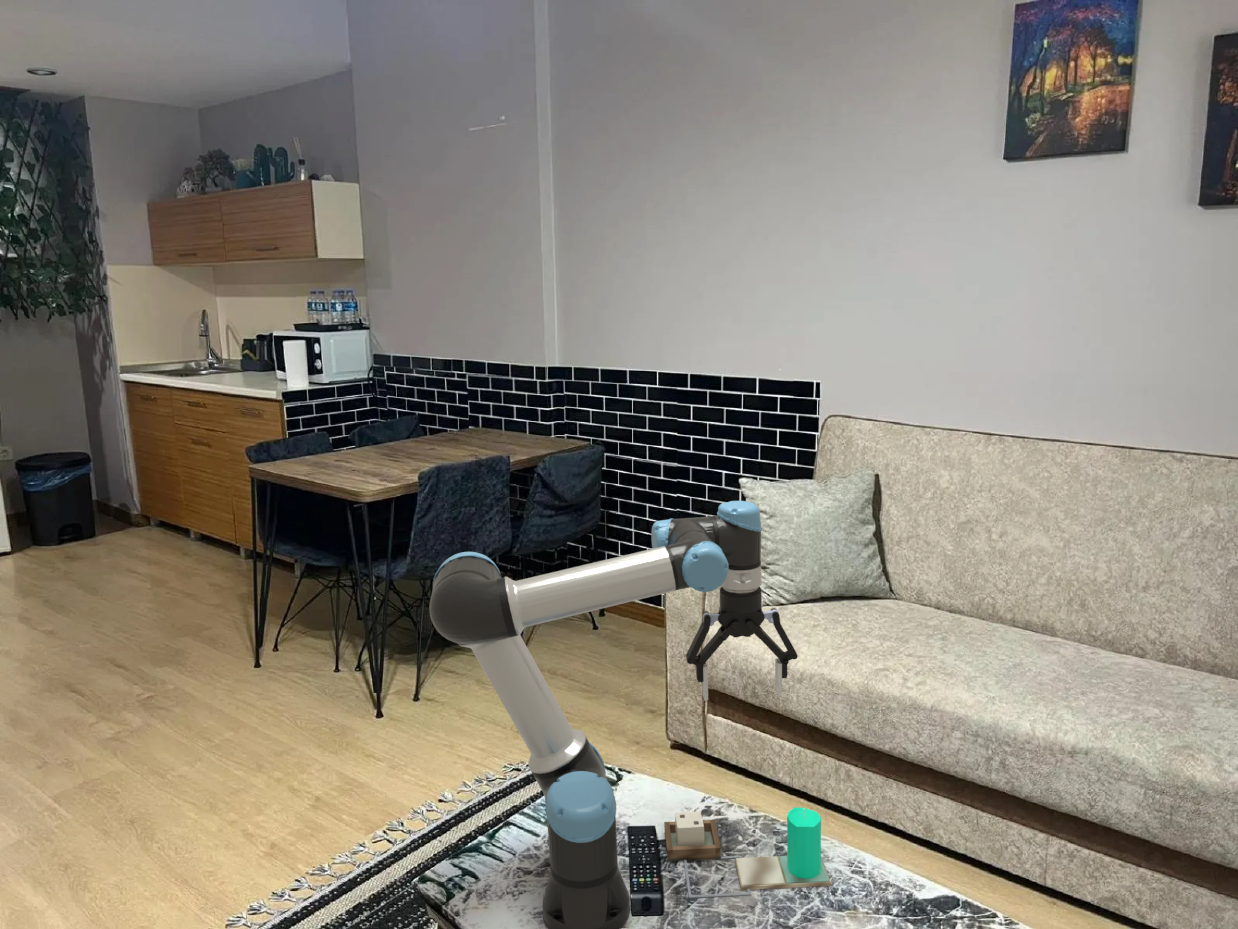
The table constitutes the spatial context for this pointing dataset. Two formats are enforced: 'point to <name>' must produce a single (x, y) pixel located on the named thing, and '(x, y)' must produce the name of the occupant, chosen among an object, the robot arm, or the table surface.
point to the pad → (712, 894)
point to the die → (689, 829)
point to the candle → (803, 842)
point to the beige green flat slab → (774, 874)
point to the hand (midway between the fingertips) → (742, 695)
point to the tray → (702, 852)
